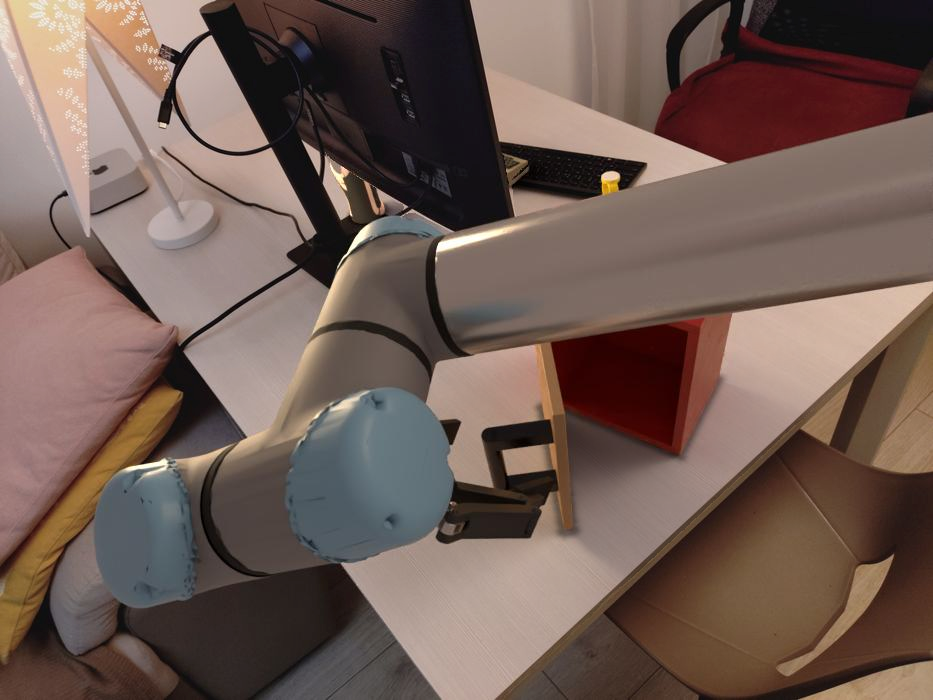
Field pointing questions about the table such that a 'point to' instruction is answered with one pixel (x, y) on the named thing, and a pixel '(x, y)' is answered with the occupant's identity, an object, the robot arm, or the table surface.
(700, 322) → the cabinet
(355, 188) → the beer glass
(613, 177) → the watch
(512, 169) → the cream printed box
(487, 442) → the cabinet door
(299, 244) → the table surface
